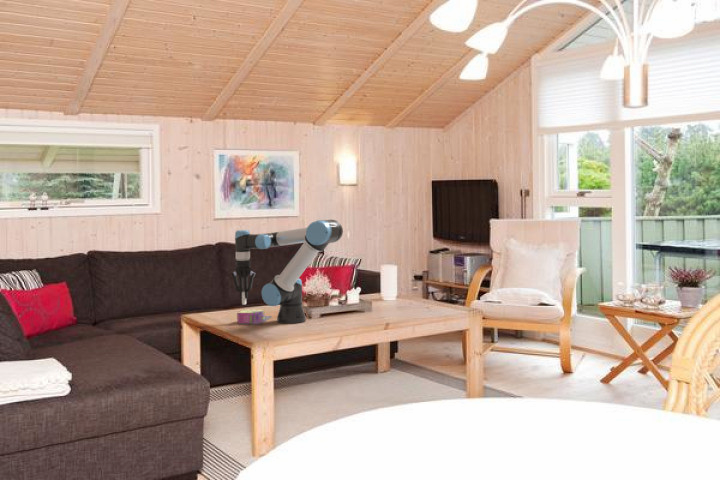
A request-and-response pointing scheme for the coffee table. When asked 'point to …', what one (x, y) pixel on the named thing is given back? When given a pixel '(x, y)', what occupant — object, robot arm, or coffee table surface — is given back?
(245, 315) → the box
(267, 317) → the felt mat
